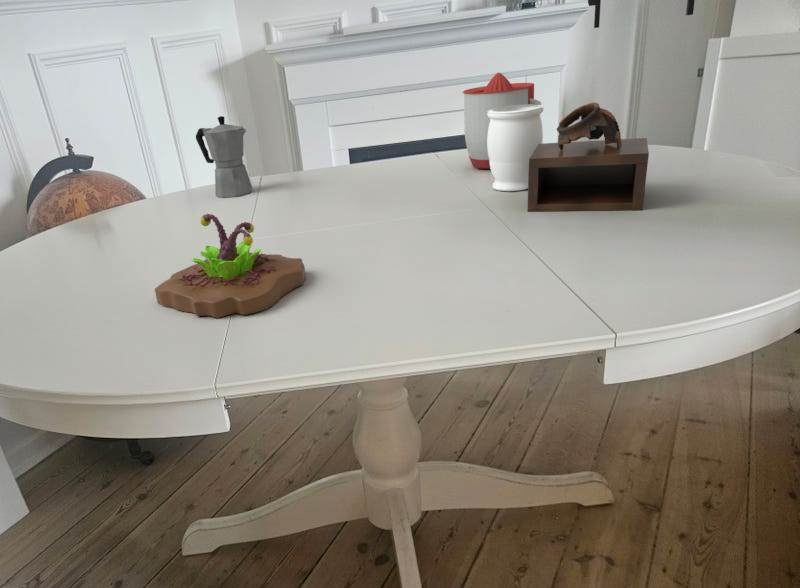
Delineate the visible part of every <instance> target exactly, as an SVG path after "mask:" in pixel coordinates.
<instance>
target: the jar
mask: <svg viewBox="0 0 800 588" xmlns="http://www.w3.org/2000/svg"><path fill="white" fill-rule="evenodd" d="M487 112H488V113H487V115H488V117H489V118H490V123H489V128H488V135H487V149H488V156H489V162H490V168H489V169H490V172H491V174H492V177H493V179H494V182H493V183H492V185H491V187H492V189H493V190H495V191H498V192H499V191H500V192H518V191H524V190H528V178H529V158H530V157H531V155H532V154H533V152H534V150H535V149H536V147H537V146H538V144H543V139H544V133H543V131H544V130H543V122H542V118H541V114H542V113H543V112H544V105H543V104H542V105H534V104H527V105H513V106H505V107H500V108H495V109H492V110H489V111H487Z"/></svg>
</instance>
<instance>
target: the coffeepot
mask: <svg viewBox="0 0 800 588" xmlns="http://www.w3.org/2000/svg"><path fill="white" fill-rule="evenodd" d="M217 121H218V123H219V125H216V126H214V127H206V128H205V127H200V128H198V130H197V132H196V134H195V140H196V142H197V144H198V146H199V149H200V151H201V153H202V155H203V157H204V159H205V162H206V163H207V164H215V169H214V182H215V183H214V184H215V188H214V189H215V197H217V198H223V199H227V198H235V197H241V196H246V195H248V194H250V193H252V191H253V190H254V188H253V185H252V183H251V180H250V176H249V174H248V170H247V167H246V165H245V163H244V161H243V157H244V155H245V154H244V153H245V151H244V135H245V133H247V128H245V127H243V126H241V125H234V124H227V123H225V116H223V115H219V116H218V117H217ZM203 137H204V138H203ZM204 139H205V140H204ZM205 141H206V144H205ZM206 145H207V147H208V149H207V147H206ZM208 150H209V151H208ZM209 153H210V155H209ZM210 156H211V157H210Z"/></svg>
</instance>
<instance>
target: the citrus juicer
mask: <svg viewBox="0 0 800 588" xmlns="http://www.w3.org/2000/svg"><path fill="white" fill-rule="evenodd" d="M462 93H463V110H464V111H463V112H464V113H463V114H464V115H463V116H464V120H463V121H464V140H465V145H466V146H465V147H466V150H467V153H468V158H469V161H470V163H471V165H472V167H474V168H476V169H477V170H485V169H490V162H489V156H488V149H487V135H488V128H489V123H490V118H489V117H488V115H487V113H488V112H487V111H489V110H492V109H495V108H500V107H505V106H513V105H527V104H534V105H542V106H543V104H542V102H541V101H540V100H538V99H535V83H533V82H512V83H511V82H510V81H509V80H508V78H507V77H506V76H505V75H504V74H502V72H497V73H495V74H494V76H492V78H491V79H490V80H489V82H488V83H487V84H486V85H484V86H477V87H471V88H468V89H465V90H463V91H462Z"/></svg>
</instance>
